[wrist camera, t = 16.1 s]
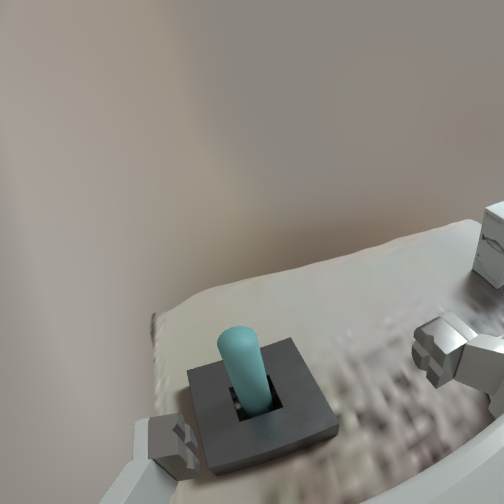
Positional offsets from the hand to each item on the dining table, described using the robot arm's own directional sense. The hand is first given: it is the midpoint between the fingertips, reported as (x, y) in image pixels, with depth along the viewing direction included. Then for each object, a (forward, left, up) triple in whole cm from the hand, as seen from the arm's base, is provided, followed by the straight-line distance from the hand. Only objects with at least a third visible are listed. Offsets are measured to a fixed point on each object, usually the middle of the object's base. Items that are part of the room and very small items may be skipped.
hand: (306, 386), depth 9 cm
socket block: (+1, -14, -25) cm, 28 cm away
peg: (+1, -14, -25) cm, 29 cm away
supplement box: (-46, -17, -25) cm, 55 cm away
